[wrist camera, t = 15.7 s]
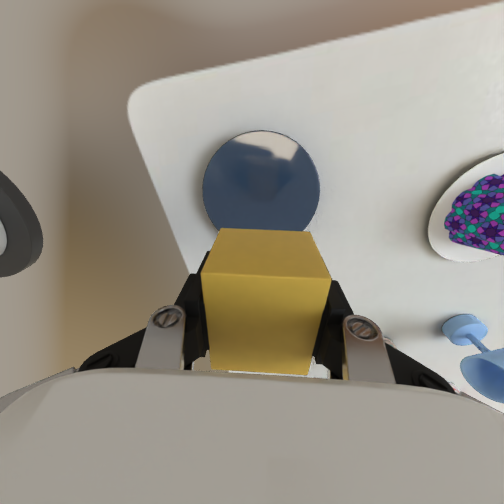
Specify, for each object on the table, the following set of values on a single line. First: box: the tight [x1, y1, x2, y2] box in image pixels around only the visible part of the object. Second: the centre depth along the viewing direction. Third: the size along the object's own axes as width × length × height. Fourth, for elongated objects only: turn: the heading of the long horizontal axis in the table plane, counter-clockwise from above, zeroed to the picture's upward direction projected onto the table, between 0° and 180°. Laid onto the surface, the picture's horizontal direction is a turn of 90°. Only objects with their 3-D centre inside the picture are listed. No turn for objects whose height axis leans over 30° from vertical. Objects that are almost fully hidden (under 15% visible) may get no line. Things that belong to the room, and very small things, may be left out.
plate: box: [202, 131, 320, 231], centre depth 23 cm, size 12×12×1 cm
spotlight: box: [442, 314, 504, 403], centre depth 27 cm, size 5×10×7 cm
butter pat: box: [201, 228, 332, 375], centre depth 10 cm, size 4×6×4 cm
